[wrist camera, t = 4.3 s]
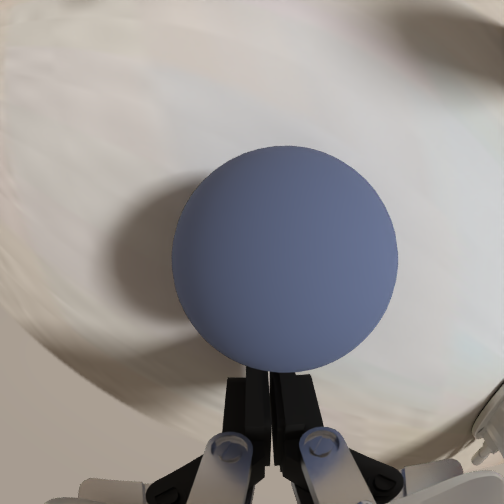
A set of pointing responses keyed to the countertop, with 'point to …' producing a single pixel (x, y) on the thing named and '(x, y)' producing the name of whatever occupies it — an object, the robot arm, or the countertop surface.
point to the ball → (284, 259)
